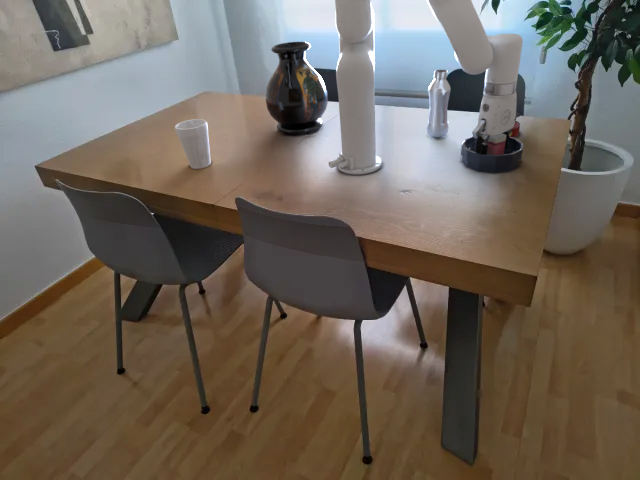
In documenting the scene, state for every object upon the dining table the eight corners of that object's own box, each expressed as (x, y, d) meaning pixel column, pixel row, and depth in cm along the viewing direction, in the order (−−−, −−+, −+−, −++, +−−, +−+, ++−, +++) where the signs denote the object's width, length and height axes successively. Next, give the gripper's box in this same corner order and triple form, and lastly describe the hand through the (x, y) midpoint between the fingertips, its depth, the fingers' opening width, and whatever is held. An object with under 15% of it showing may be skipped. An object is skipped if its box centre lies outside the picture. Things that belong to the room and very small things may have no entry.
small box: (477, 161, 124) (480, 133, 120) (488, 156, 126) (491, 129, 121) (492, 166, 120) (495, 138, 116) (503, 162, 122) (507, 134, 118)
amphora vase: (324, 138, 149) (316, 49, 134) (263, 139, 153) (249, 53, 138) (334, 117, 167) (328, 37, 151) (278, 119, 171) (268, 41, 156)
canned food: (484, 149, 142) (472, 120, 139) (501, 136, 146) (490, 108, 144) (516, 140, 132) (503, 109, 130) (533, 127, 136) (521, 97, 134)
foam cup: (185, 173, 135) (174, 131, 128) (185, 161, 142) (174, 122, 135) (216, 167, 136) (207, 126, 129) (214, 156, 144) (205, 117, 137)
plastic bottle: (442, 141, 138) (447, 74, 127) (422, 137, 142) (425, 72, 131) (451, 134, 142) (456, 69, 132) (431, 131, 146) (434, 67, 135)
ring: (496, 178, 114) (498, 160, 111) (449, 162, 125) (450, 145, 122) (532, 161, 121) (535, 143, 118) (485, 146, 132) (487, 130, 129)
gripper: (490, 98, 106) (482, 166, 115) (534, 82, 113) (523, 147, 123) (464, 93, 111) (459, 158, 120) (508, 78, 119) (499, 140, 128)
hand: (491, 152), depth 121 cm, fingers open, 8 cm apart
